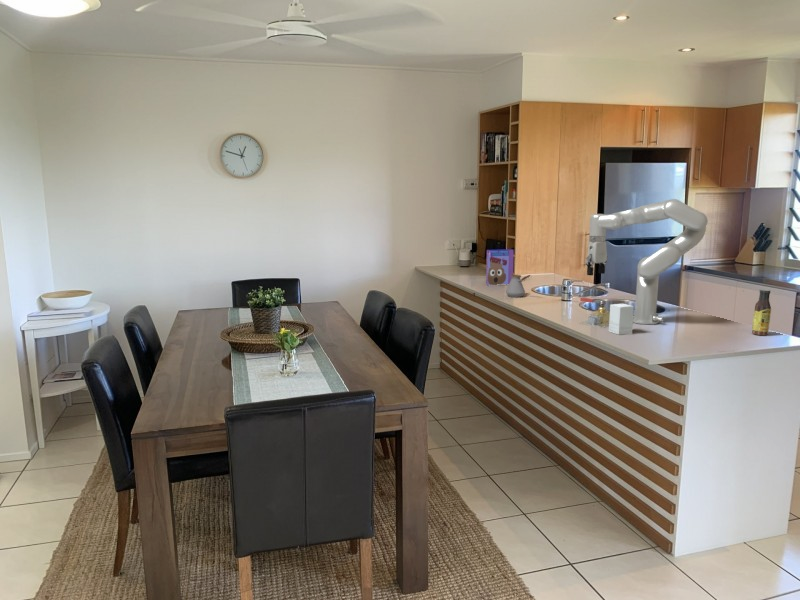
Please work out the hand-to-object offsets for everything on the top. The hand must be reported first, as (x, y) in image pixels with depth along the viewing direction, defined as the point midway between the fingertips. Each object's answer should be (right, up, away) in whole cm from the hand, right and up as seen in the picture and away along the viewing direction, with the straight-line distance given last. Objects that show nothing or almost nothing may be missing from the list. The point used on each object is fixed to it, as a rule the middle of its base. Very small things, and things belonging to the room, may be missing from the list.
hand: (595, 274), depth 295 cm
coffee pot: (-25, -12, +63) cm, 69 cm away
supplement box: (+2, -28, -26) cm, 38 cm away
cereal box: (-29, -3, +113) cm, 116 cm away
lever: (-3, -15, -3) cm, 16 cm away
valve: (+1, -24, -6) cm, 24 cm away
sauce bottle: (+62, -28, -31) cm, 75 cm away
